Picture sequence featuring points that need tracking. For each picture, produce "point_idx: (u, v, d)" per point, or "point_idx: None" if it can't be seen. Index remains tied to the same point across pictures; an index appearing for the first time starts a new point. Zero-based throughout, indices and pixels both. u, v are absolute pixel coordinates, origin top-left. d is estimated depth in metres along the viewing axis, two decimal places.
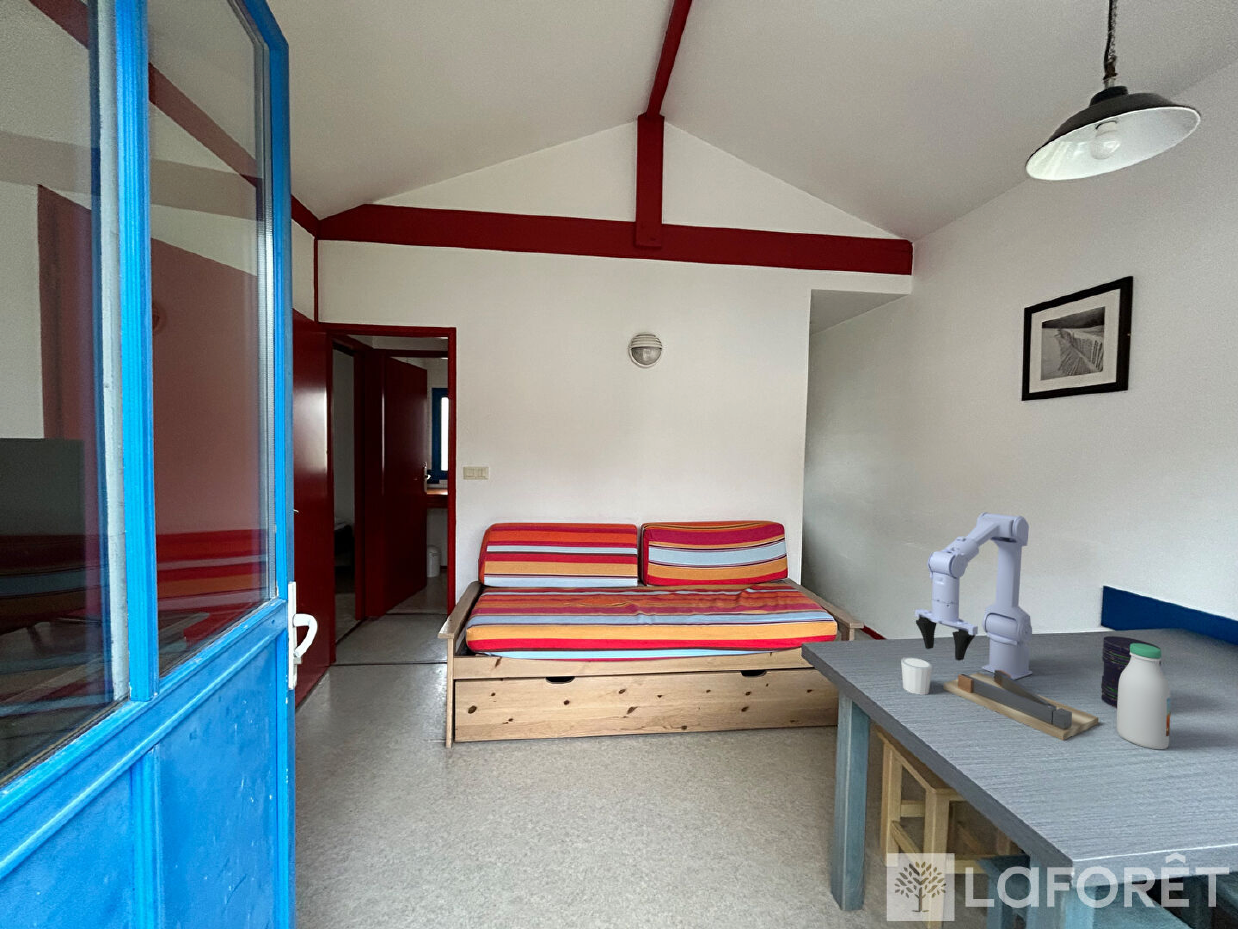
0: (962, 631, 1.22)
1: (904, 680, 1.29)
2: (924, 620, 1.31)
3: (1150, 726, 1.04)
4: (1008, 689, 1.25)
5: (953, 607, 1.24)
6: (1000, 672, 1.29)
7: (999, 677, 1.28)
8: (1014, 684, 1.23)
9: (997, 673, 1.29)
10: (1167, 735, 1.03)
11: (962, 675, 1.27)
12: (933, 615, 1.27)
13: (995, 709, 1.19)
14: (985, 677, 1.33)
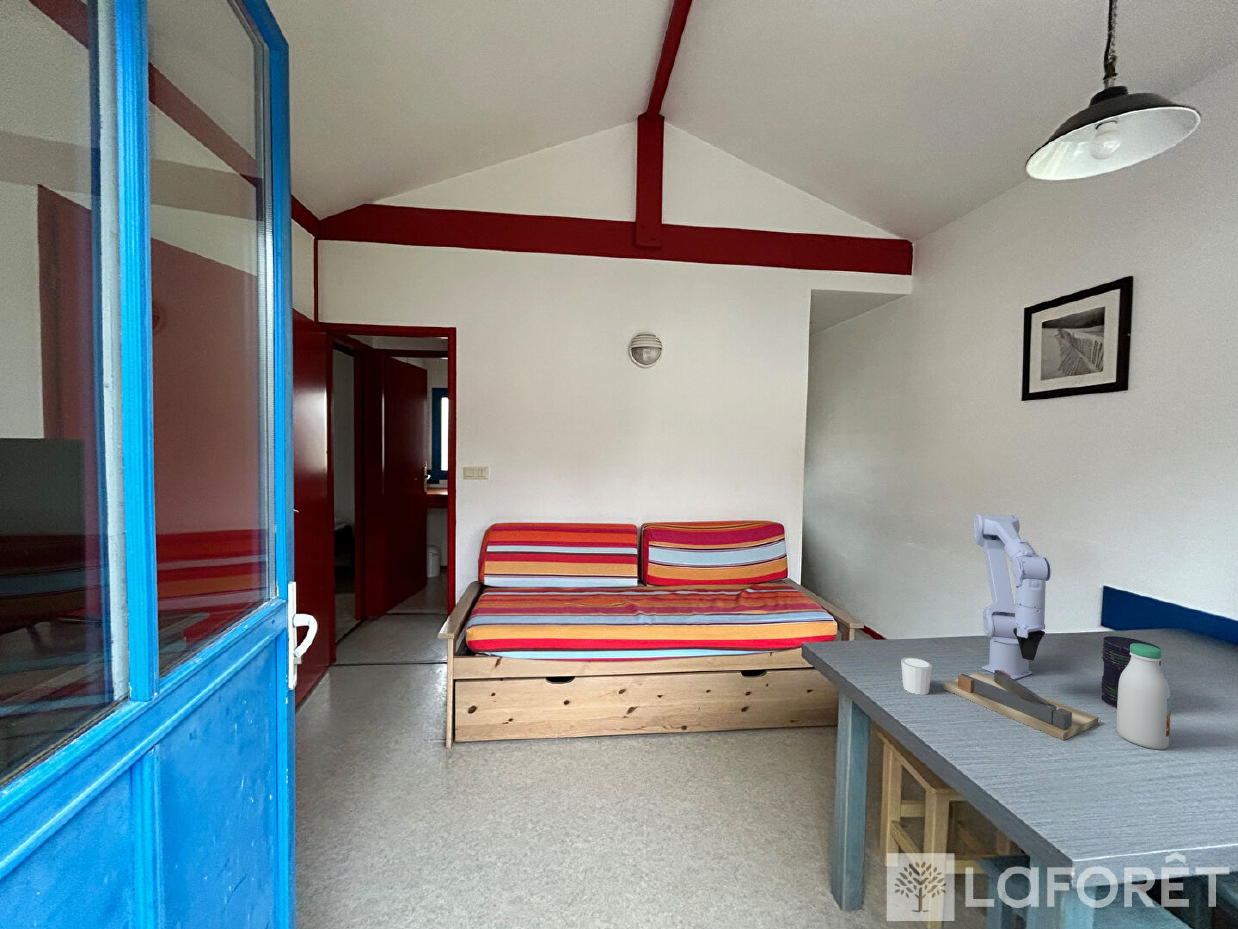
0: None
1: (904, 680, 1.29)
2: None
3: (1150, 726, 1.04)
4: (1008, 689, 1.25)
5: (1022, 610, 1.24)
6: (1000, 672, 1.29)
7: (999, 677, 1.28)
8: (1014, 684, 1.23)
9: (997, 673, 1.29)
10: (1167, 735, 1.03)
11: (962, 675, 1.27)
12: None
13: (995, 709, 1.19)
14: (985, 677, 1.33)
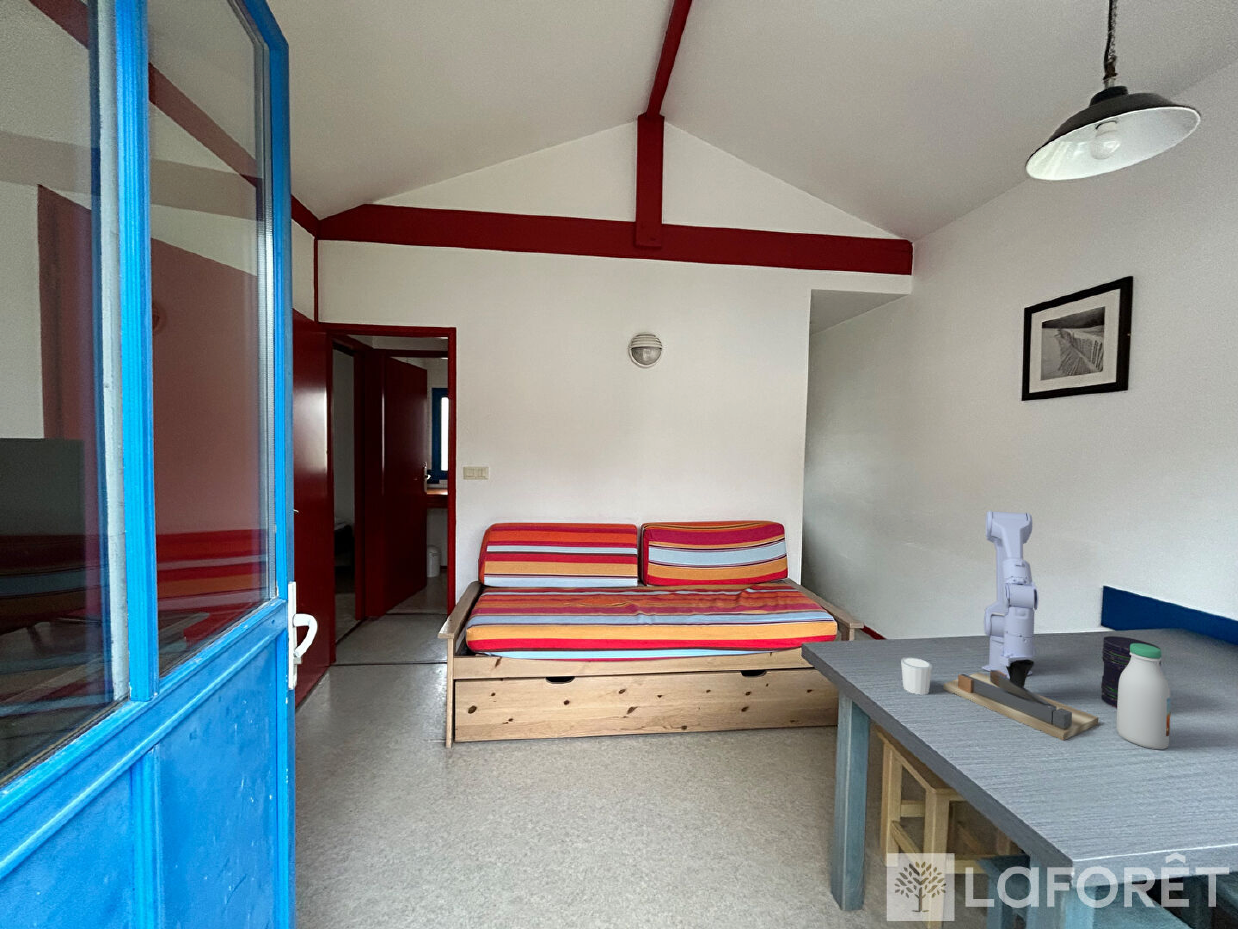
0: None
1: (904, 680, 1.29)
2: None
3: (1150, 726, 1.04)
4: (1005, 689, 1.25)
5: (1008, 638, 1.23)
6: (996, 672, 1.29)
7: (995, 677, 1.28)
8: (1011, 684, 1.23)
9: (993, 673, 1.29)
10: (1167, 735, 1.03)
11: (962, 675, 1.27)
12: None
13: (995, 709, 1.19)
14: (985, 677, 1.33)
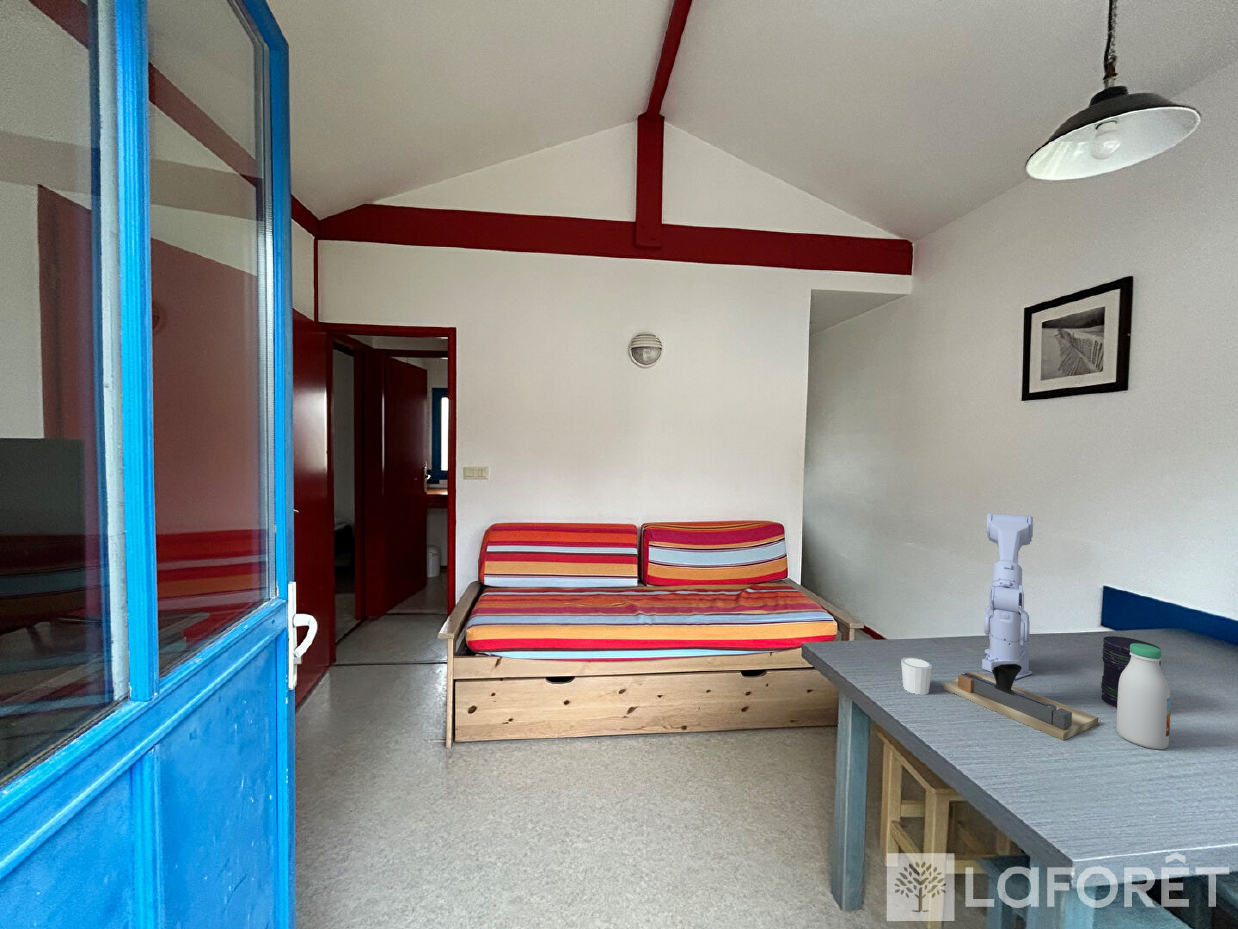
0: None
1: (904, 680, 1.29)
2: None
3: (1150, 726, 1.04)
4: None
5: (994, 642, 1.21)
6: (971, 675, 1.27)
7: None
8: None
9: None
10: (1167, 735, 1.03)
11: (962, 675, 1.27)
12: None
13: (995, 709, 1.19)
14: (985, 677, 1.33)
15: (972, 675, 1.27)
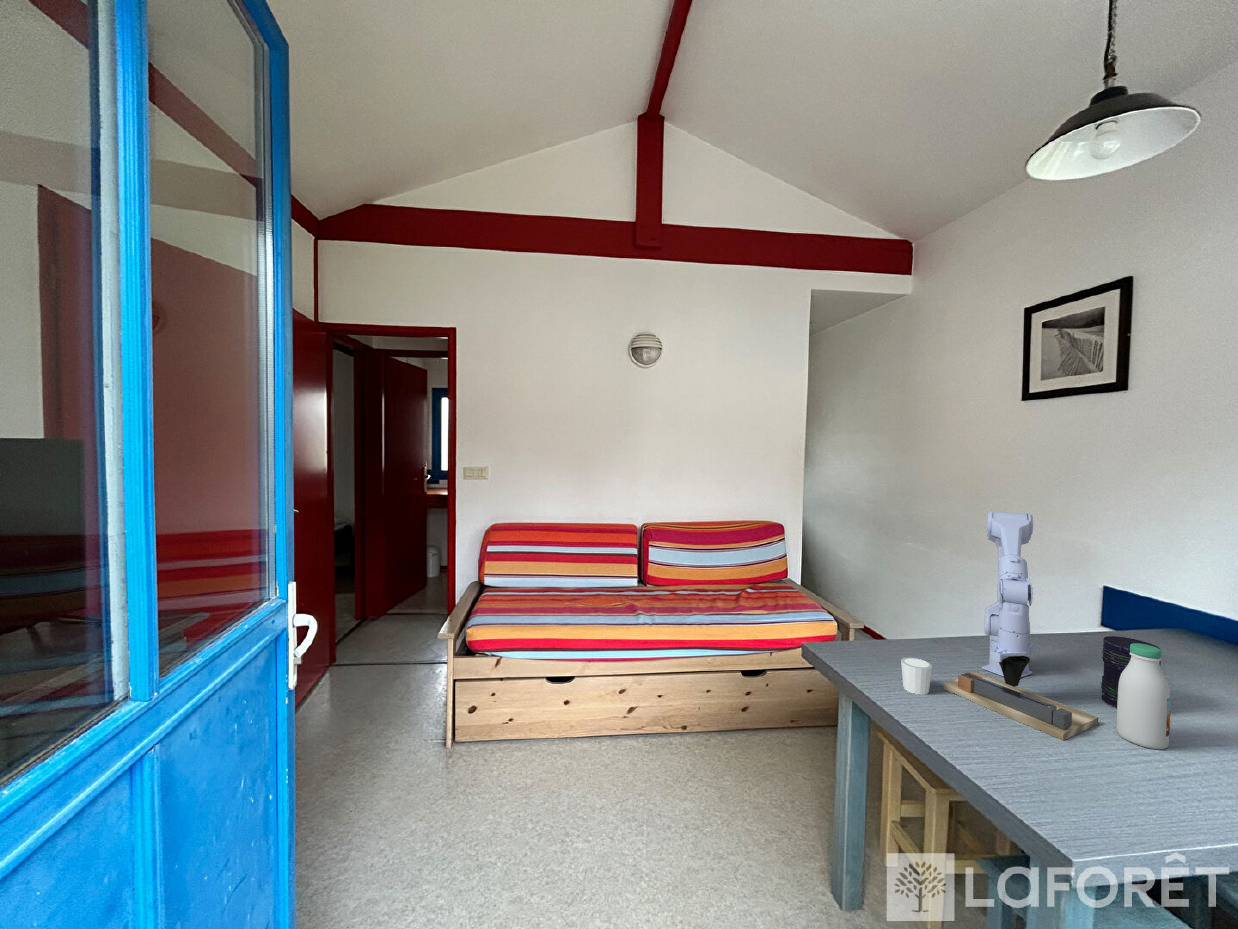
0: None
1: (904, 680, 1.29)
2: None
3: (1150, 726, 1.04)
4: None
5: (1002, 634, 1.22)
6: (971, 675, 1.27)
7: None
8: None
9: None
10: (1167, 735, 1.03)
11: (962, 675, 1.27)
12: None
13: (995, 709, 1.19)
14: (985, 677, 1.33)
15: (972, 675, 1.27)
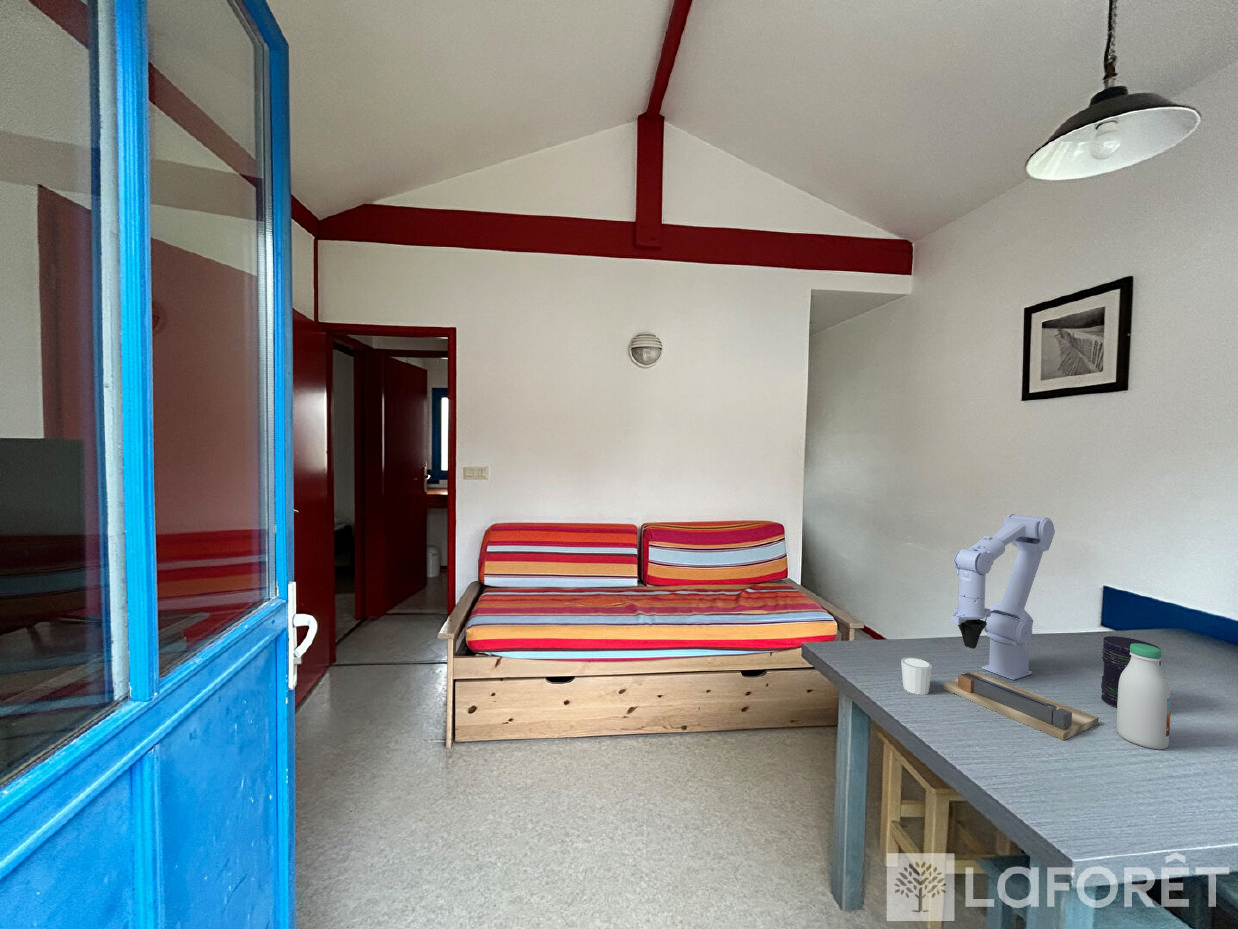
0: None
1: (904, 680, 1.29)
2: None
3: (1150, 726, 1.04)
4: None
5: (961, 600, 1.32)
6: (971, 675, 1.27)
7: None
8: None
9: None
10: (1167, 735, 1.03)
11: (962, 675, 1.27)
12: None
13: (995, 709, 1.19)
14: (985, 677, 1.33)
15: (972, 675, 1.27)
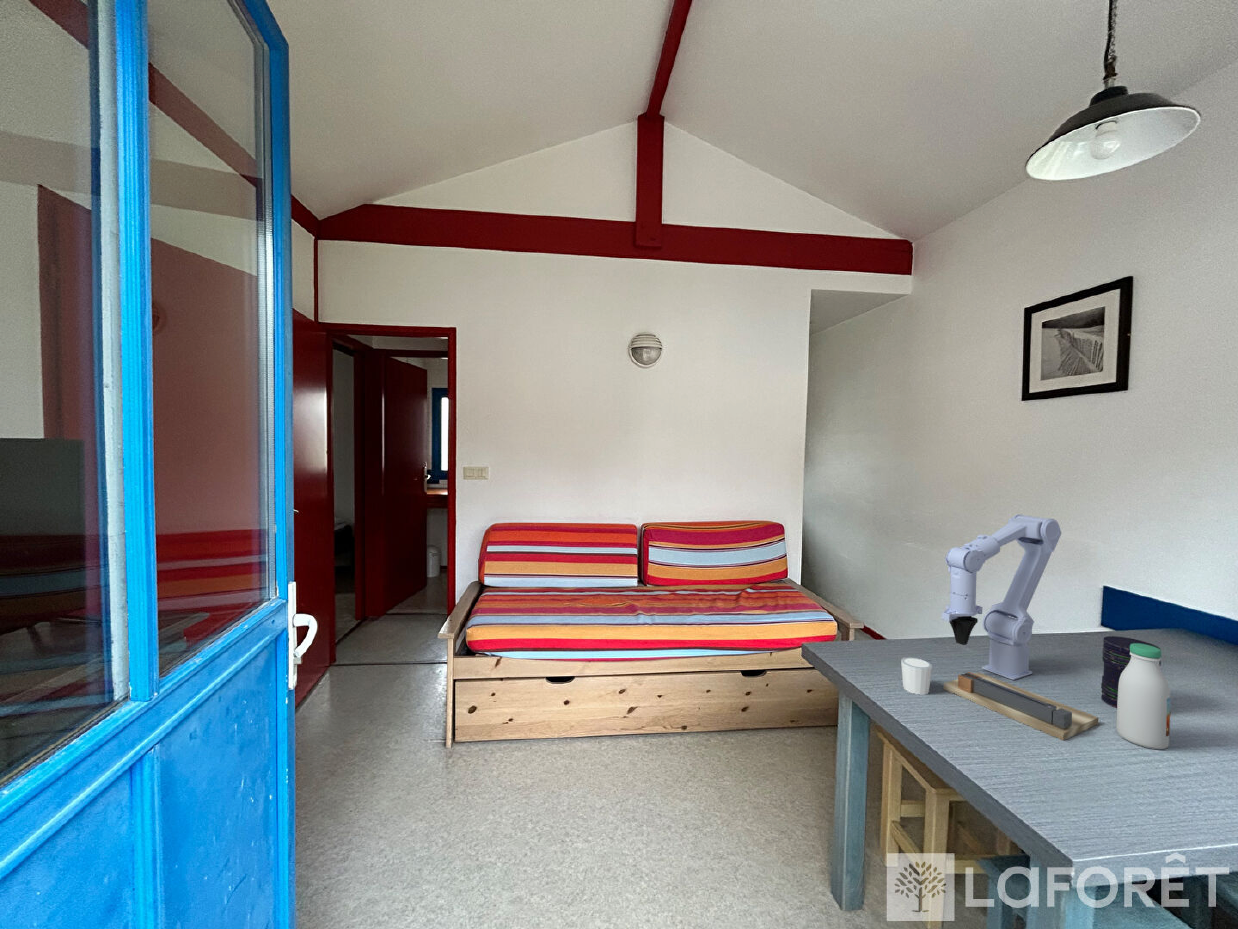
0: None
1: (904, 680, 1.29)
2: None
3: (1150, 726, 1.04)
4: None
5: (953, 597, 1.35)
6: (971, 675, 1.27)
7: None
8: None
9: None
10: (1167, 735, 1.03)
11: (962, 675, 1.27)
12: None
13: (995, 709, 1.19)
14: (985, 677, 1.33)
15: (972, 675, 1.27)
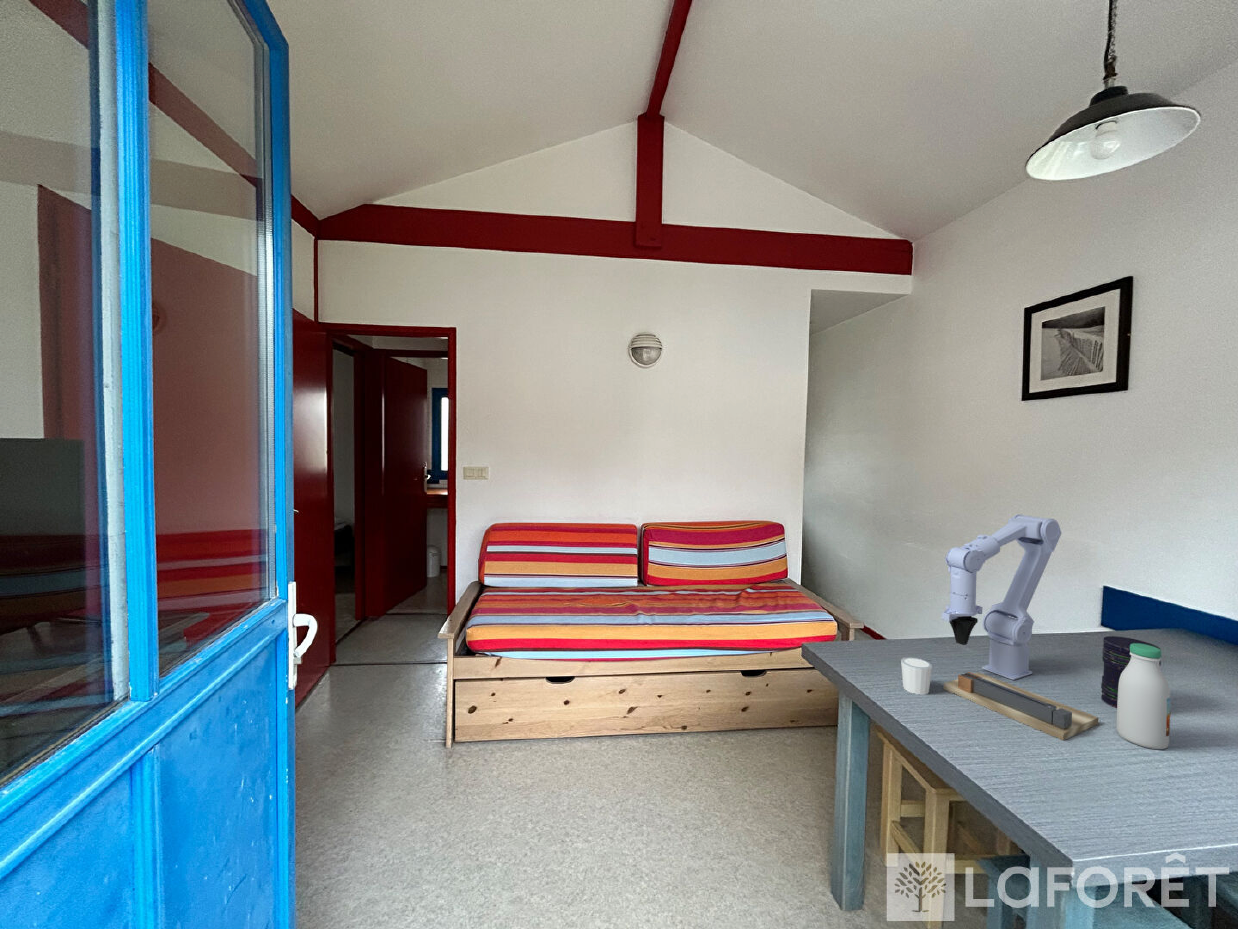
0: None
1: (904, 680, 1.29)
2: None
3: (1150, 726, 1.04)
4: None
5: (953, 597, 1.35)
6: (971, 675, 1.27)
7: None
8: None
9: None
10: (1167, 735, 1.03)
11: (962, 675, 1.27)
12: None
13: (995, 709, 1.19)
14: (985, 677, 1.33)
15: (972, 675, 1.27)
